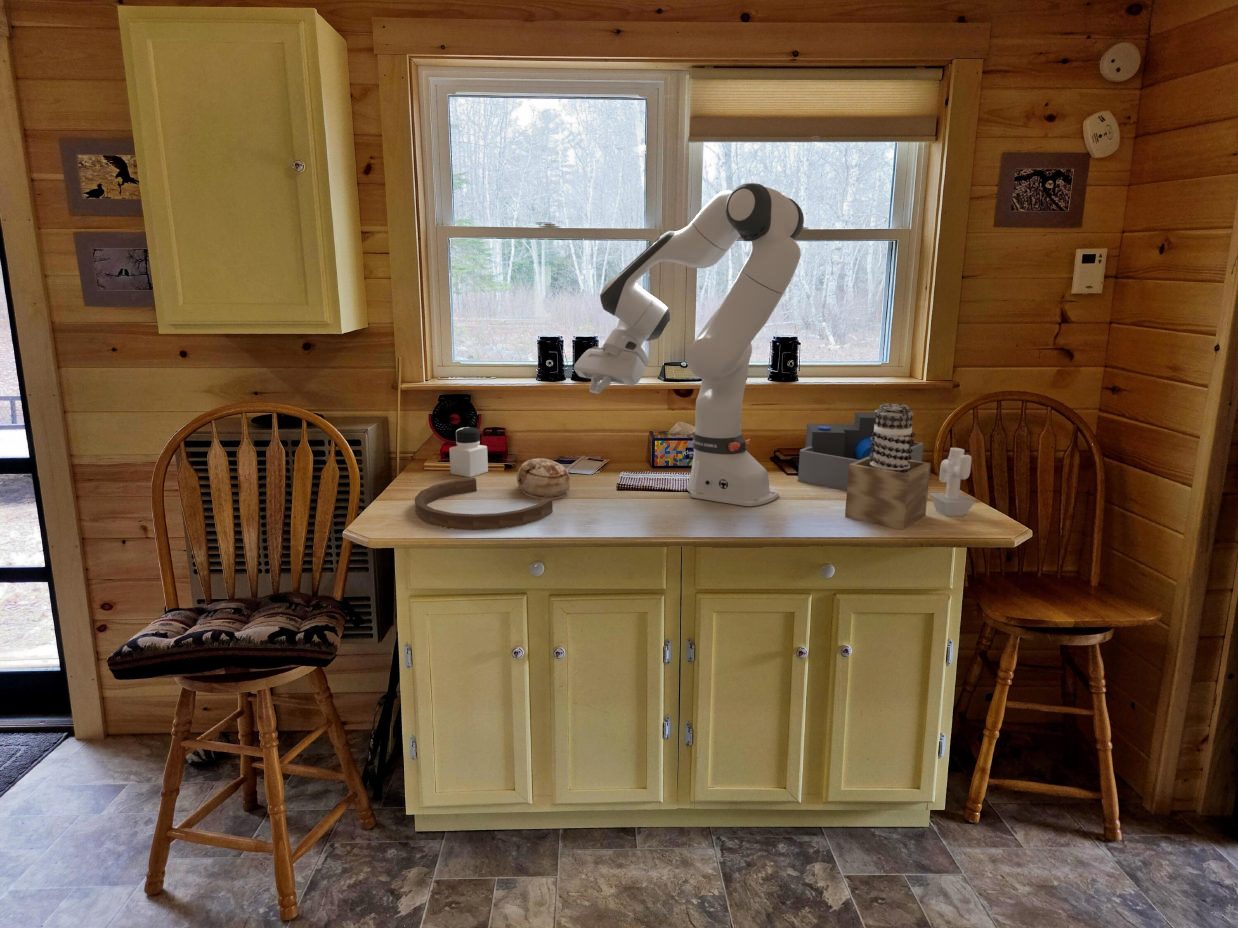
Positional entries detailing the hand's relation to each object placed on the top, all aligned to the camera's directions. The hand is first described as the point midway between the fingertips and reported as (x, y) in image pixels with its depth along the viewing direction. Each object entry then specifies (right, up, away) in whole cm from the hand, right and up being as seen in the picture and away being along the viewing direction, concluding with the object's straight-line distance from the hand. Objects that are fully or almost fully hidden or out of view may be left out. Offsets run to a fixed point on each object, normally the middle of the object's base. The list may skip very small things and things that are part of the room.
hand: (593, 391), depth 209 cm
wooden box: (+66, -30, -26) cm, 77 cm away
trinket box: (-12, -25, -9) cm, 29 cm away
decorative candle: (+66, -30, -26) cm, 77 cm away
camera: (+69, -22, +8) cm, 73 cm away
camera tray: (+70, -22, +6) cm, 73 cm away
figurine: (+81, -30, -24) cm, 90 cm away
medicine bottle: (-33, -21, +8) cm, 40 cm away
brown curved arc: (-27, -29, -24) cm, 46 cm away
